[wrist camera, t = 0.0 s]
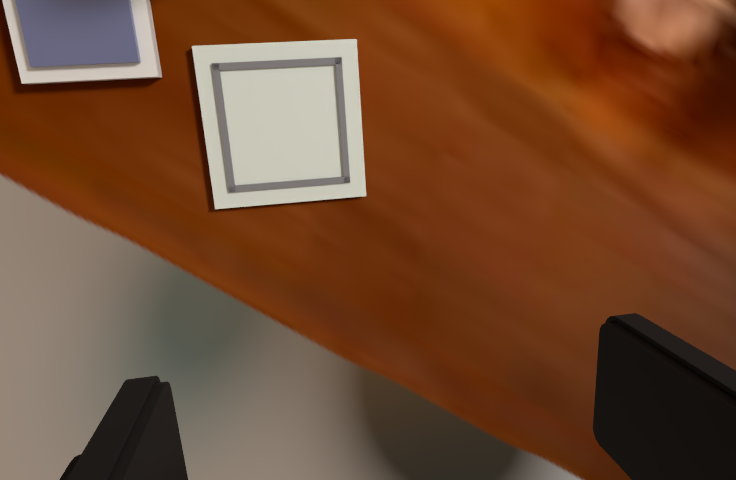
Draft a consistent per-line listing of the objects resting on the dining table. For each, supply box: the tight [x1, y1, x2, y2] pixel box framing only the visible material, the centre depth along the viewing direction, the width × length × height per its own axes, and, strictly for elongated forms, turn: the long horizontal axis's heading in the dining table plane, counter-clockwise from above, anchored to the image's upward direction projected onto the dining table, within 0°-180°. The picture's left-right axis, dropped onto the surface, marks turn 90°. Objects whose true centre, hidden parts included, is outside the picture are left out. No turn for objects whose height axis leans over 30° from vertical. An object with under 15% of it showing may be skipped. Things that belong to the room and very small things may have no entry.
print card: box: [192, 39, 366, 209], centre depth 38 cm, size 12×12×1 cm
